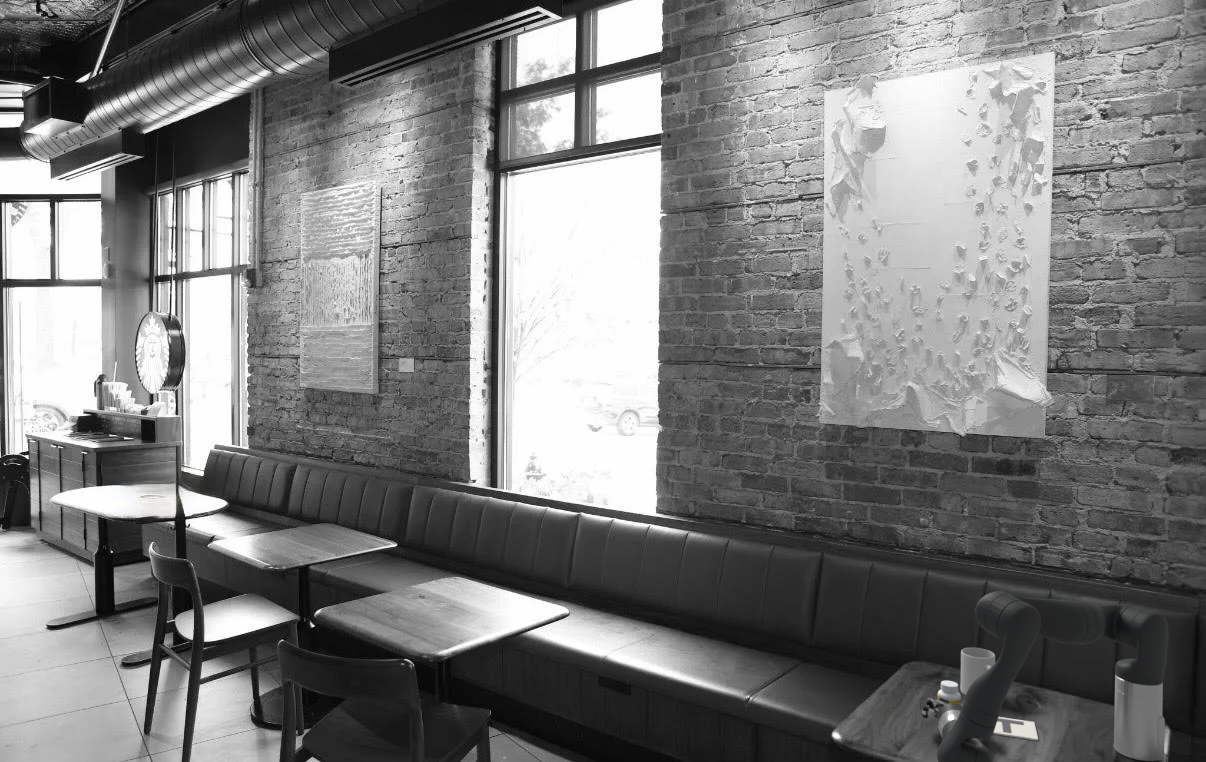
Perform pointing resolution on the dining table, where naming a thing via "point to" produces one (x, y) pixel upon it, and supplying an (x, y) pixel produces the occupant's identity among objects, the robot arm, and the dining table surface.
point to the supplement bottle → (949, 693)
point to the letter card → (1016, 728)
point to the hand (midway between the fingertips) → (949, 699)
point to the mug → (974, 665)
